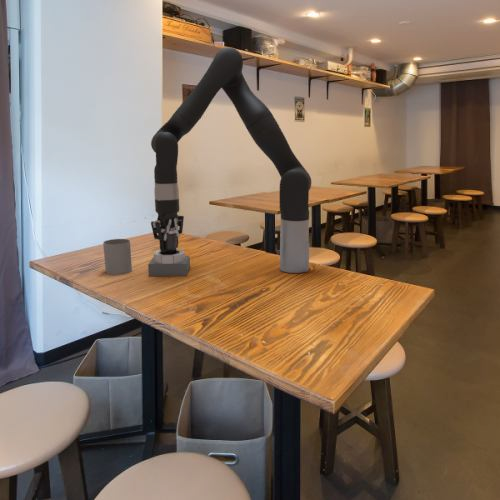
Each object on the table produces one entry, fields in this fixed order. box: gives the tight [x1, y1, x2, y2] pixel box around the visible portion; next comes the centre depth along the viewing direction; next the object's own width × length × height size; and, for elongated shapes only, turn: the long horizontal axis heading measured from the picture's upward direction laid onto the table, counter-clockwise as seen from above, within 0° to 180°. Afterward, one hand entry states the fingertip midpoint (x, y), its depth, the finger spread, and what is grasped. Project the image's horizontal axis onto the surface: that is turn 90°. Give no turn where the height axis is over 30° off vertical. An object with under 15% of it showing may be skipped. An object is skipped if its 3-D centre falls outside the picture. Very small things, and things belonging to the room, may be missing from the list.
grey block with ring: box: [147, 248, 191, 277], centre depth 141 cm, size 12×10×6 cm
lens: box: [161, 229, 177, 255], centre depth 140 cm, size 5×5×9 cm
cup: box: [102, 238, 133, 276], centre depth 141 cm, size 8×8×10 cm
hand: (169, 249), depth 140 cm, fingers closed on lens, 5 cm apart
